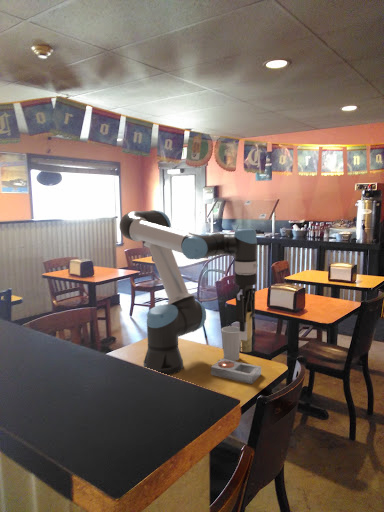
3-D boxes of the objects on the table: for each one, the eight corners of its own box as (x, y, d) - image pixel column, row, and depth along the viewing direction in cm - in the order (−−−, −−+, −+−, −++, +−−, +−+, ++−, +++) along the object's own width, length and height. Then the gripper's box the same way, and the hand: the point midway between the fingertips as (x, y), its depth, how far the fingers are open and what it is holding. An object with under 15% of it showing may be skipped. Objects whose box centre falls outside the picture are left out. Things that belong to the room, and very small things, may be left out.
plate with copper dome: (210, 374, 144) (210, 366, 144) (221, 365, 152) (221, 358, 151) (251, 384, 136) (252, 375, 136) (261, 374, 144) (261, 366, 143)
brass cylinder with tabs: (235, 350, 140) (235, 312, 139) (239, 347, 144) (239, 309, 142) (252, 353, 137) (252, 314, 136) (256, 349, 141) (256, 311, 139)
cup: (240, 362, 155) (240, 333, 153) (220, 361, 156) (220, 332, 155) (242, 355, 162) (242, 326, 161) (222, 353, 164) (222, 326, 162)
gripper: (246, 277, 128) (246, 346, 131) (264, 270, 143) (264, 332, 145) (225, 276, 132) (226, 343, 135) (245, 268, 146) (245, 329, 149)
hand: (245, 337), depth 140 cm, fingers closed on brass cylinder with tabs, 4 cm apart
